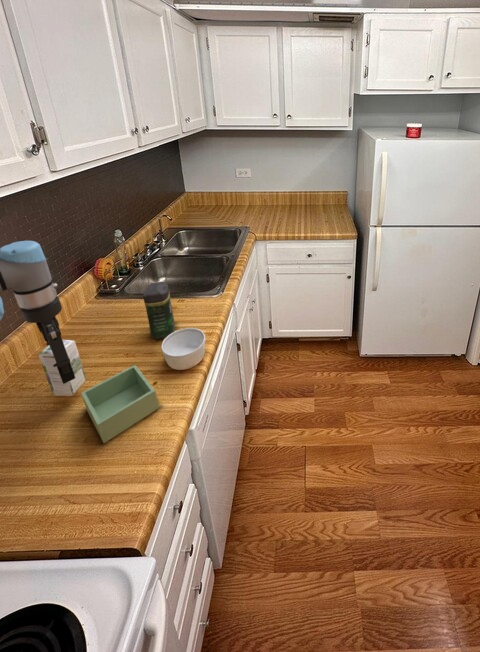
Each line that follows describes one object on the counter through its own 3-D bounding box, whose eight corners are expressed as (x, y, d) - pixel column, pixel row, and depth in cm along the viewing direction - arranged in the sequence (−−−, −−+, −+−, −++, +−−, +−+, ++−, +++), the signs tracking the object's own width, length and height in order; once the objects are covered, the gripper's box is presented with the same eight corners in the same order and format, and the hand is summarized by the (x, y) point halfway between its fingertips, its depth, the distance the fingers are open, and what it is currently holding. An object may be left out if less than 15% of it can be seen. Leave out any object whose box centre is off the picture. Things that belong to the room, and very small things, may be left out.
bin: (103, 443, 81) (97, 424, 78) (86, 410, 89) (80, 392, 87) (159, 408, 90) (155, 390, 88) (139, 381, 99) (135, 364, 96)
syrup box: (68, 379, 95) (53, 338, 90) (88, 380, 95) (74, 339, 90) (52, 395, 90) (36, 353, 85) (73, 396, 90) (58, 354, 85)
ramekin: (207, 368, 103) (204, 351, 101) (161, 377, 100) (157, 359, 97) (208, 341, 115) (205, 324, 113) (167, 348, 112) (163, 331, 109)
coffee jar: (174, 337, 117) (166, 292, 110) (150, 342, 114) (139, 296, 108) (176, 321, 125) (169, 278, 118) (153, 325, 123) (144, 281, 116)
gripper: (68, 311, 78) (92, 384, 87) (48, 281, 91) (71, 347, 99) (28, 326, 73) (57, 402, 81) (13, 292, 86) (39, 360, 94)
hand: (65, 372), depth 90 cm, fingers closed on syrup box, 8 cm apart
